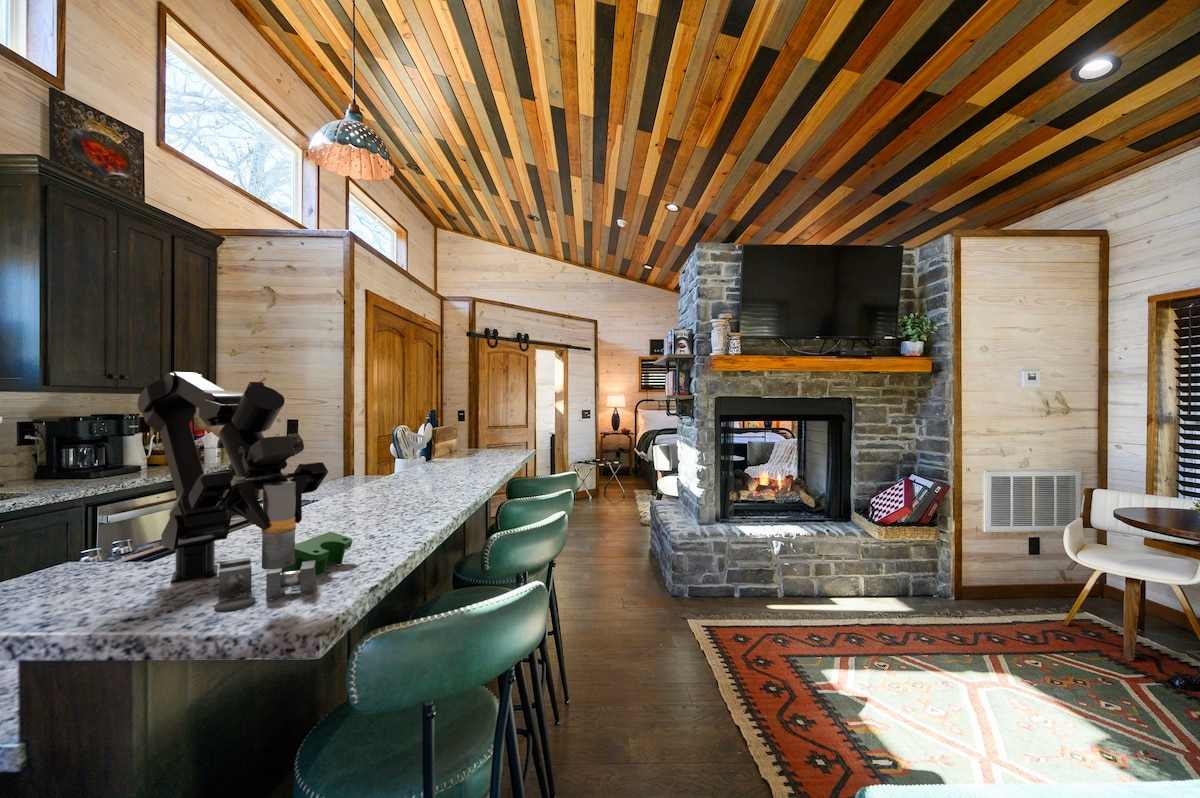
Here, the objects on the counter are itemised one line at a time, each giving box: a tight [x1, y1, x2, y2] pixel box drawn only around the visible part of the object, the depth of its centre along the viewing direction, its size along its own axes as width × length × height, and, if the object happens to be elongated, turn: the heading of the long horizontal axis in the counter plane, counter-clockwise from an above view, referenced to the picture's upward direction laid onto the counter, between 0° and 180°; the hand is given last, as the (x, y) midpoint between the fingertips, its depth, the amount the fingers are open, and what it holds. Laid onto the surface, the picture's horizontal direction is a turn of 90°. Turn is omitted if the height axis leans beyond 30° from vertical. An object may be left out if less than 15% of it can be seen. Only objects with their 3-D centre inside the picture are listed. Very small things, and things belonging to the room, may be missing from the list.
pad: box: [213, 595, 257, 613], centre depth 79 cm, size 5×5×1 cm
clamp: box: [284, 530, 353, 575], centre depth 97 cm, size 12×6×9 cm, turn 166°
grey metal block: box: [218, 556, 252, 600], centre depth 86 cm, size 7×4×4 cm, turn 37°
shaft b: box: [265, 560, 317, 601], centre depth 84 cm, size 7×4×4 cm, turn 117°
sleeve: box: [261, 481, 297, 570], centre depth 78 cm, size 5×5×13 cm
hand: (283, 524), depth 78 cm, fingers closed on sleeve, 5 cm apart
